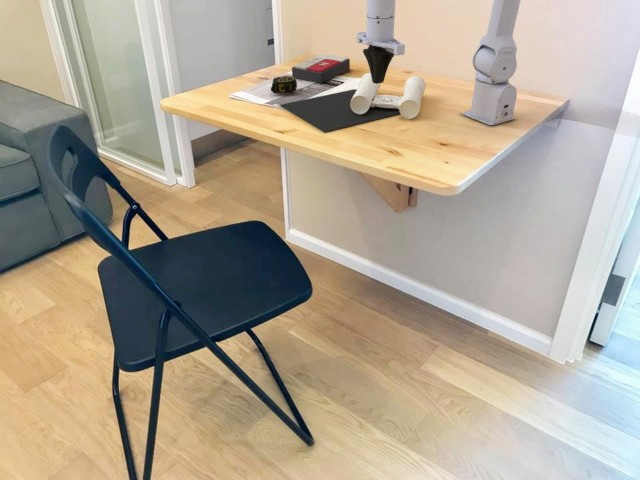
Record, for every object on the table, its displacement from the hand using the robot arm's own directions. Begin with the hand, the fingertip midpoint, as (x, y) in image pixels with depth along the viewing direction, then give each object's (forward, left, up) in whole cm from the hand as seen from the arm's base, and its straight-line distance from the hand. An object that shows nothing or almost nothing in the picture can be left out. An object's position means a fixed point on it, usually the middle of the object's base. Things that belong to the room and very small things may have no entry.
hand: (377, 82), depth 115 cm
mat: (+15, 0, -10) cm, 18 cm away
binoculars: (+3, -5, -8) cm, 10 cm away
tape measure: (+35, +6, -11) cm, 37 cm away
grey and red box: (+44, -12, -11) cm, 47 cm away
